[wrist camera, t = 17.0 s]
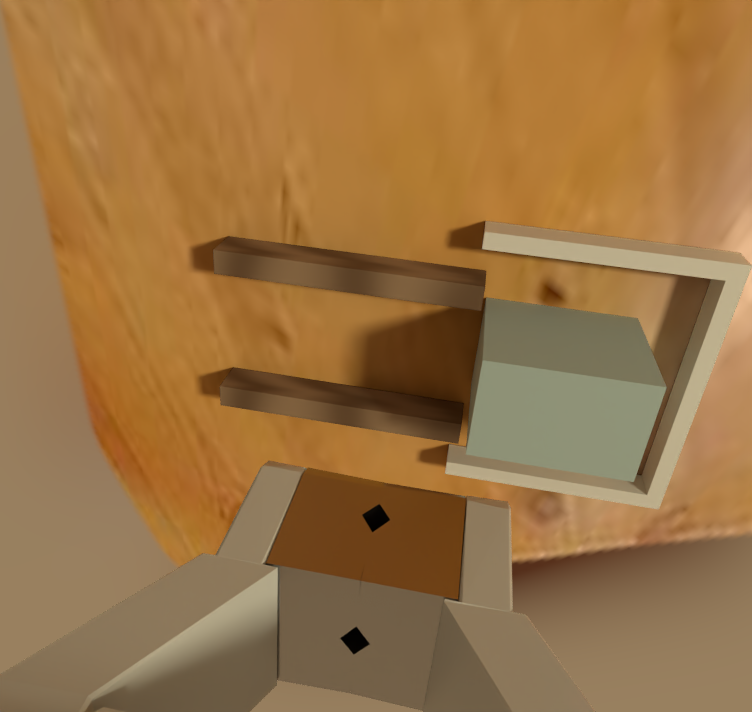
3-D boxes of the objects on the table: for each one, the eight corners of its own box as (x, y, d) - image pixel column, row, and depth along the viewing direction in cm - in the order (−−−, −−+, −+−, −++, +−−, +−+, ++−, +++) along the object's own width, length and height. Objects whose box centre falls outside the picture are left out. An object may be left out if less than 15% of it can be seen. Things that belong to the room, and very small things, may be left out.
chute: (233, 385, 46) (220, 405, 44) (228, 236, 41) (213, 249, 39) (460, 421, 44) (458, 443, 42) (486, 270, 39) (484, 286, 37)
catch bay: (447, 455, 46) (445, 473, 44) (485, 220, 38) (484, 231, 36) (652, 489, 45) (658, 509, 43) (740, 252, 36) (752, 265, 34)
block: (471, 380, 43) (465, 454, 36) (486, 296, 40) (482, 360, 33) (612, 401, 42) (633, 482, 35) (637, 317, 39) (666, 387, 32)
